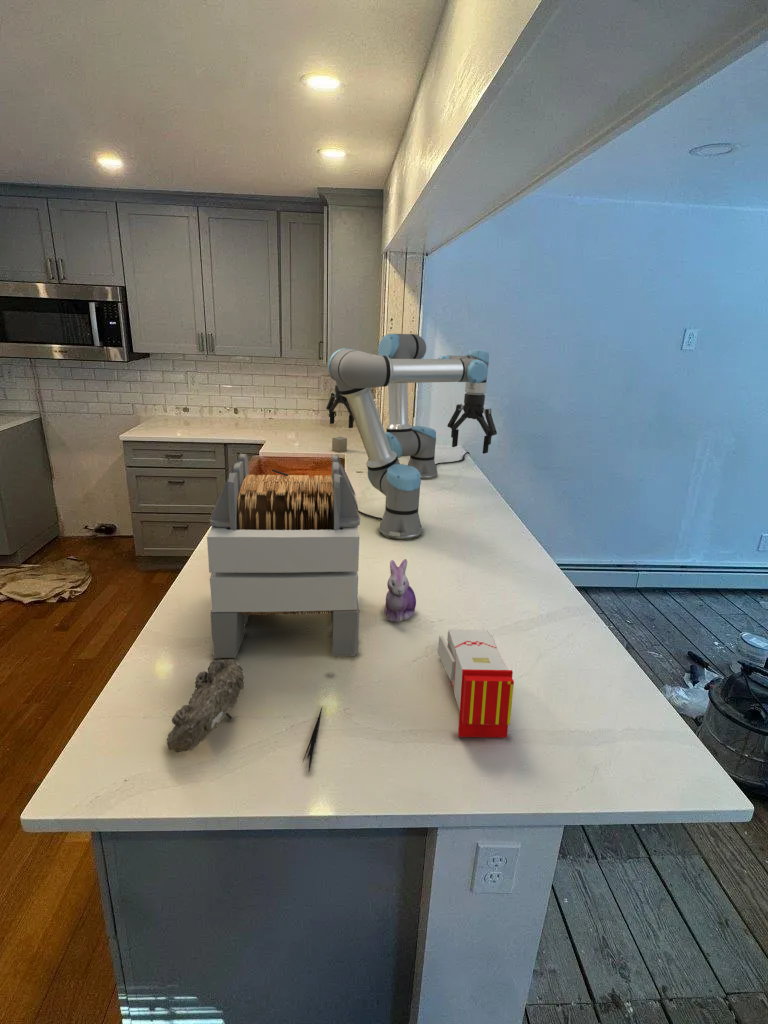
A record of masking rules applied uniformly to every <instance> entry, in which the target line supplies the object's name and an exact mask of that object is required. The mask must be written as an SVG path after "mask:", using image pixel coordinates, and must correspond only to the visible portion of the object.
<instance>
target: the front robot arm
mask: <svg viewBox="0 0 768 1024" xmlns="http://www.w3.org/2000/svg"><path fill="white" fill-rule="evenodd" d="M489 362H490V353H489V351H487V350H484V349H469V350H468V353H467V355H449V354H447V355H440V356H439V357H438V358H421V359H389V357H388V356H380V355H378V354H373V353H368V352H364V351H362V350H357V349H355V348H351V347H343V348H339V349H338V350H335V351H334V352H333V353H332V354H331V356H330V358H329V359H328V363H327V370H328V373H329V375H330V377H331V379H332V380H333V381H334V382H335V381H336V384H337V387H338V389H339V392H340V394H341V395H342V396H344V397H346V398H347V401H348V403H349V406H350V409H351V412H352V414H353V417H354V422H355V425H356V428H357V430H358V433H359V436H360V439H361V441H362V444H363V447H364V449H365V452H366V455H367V458H368V459H367V461H366V463H365V464H366V467H367V478H368V481H369V483H370V484H371V485H372V487H373V488H375V489H376V490H377V491H379V492H380V493H381V494H382V495H384V496H385V504H384V505H385V507H384V508H385V509H384V513H383V515H382V517H380V516H376V515H372V514H369V513H365V512H362V511H360V510H359V509H358V511H359V515H362V516H364V517H367V518H370V519H373V520H377V521H381V522H379V526H378V533H379V534H380V535H381V536H382V537H385V538H387V539H389V540H395V541H410V540H415V539H418V538H420V537H421V536H422V535H423V525H422V524H421V518H420V515H419V507H420V506H419V505H420V496H421V495H420V494H421V493H420V492H421V483H422V479H420V472H419V471H418V470H417V469H416V468H414V467H412V466H408V464H403V463H401V462H400V460H399V459H400V458H398V456H397V454H396V452H393V451H391V449H390V446H389V443H388V440H387V437H386V434H385V433H386V432H385V429H384V426H383V422H382V420H381V417H380V414H379V411H378V408H377V405H376V402H375V400H374V397H373V394H372V391H371V388H381V387H382V388H383V387H384V388H385V387H388V385H389V384H390V383H407V384H413V383H414V384H419V383H420V384H421V383H423V384H424V383H426V384H427V383H465V387H464V391H465V393H464V397H463V403H464V404H462V403H458V404H456V405H455V410H454V412H453V414H452V416H451V417H450V419H449V420H448V421H449V422H448V423H447V425H446V426H447V428H449V429H451V434H450V438H452V440H451V447H452V448H455V447H458V444H459V443H458V442H459V431H460V430H459V429H458V428H459V427H460V426H461V425H462V424H463V423H464V421H466V419H471V420H476V421H477V422H478V423H479V426H480V427H481V429H482V430H483V432H484V434H485V435H484V436H483V444H482V445H483V446H482V454H488V453H489V446H491V444H492V437H493V436H496V435H497V434H498V432H497V428H496V424H495V422H494V419H493V415H492V408H485V406H484V405H485V402H486V401H485V400H486V395H485V394H486V390H487V381H488V380H487V379H488V373H489V365H490V364H489ZM336 384H335V385H336ZM462 411H463V413H462V414H461V412H462ZM460 414H461V416H460ZM483 414H484V415H483ZM459 416H460V417H459ZM484 416H485V417H484ZM271 472H274V473H277V474H278V475H281V476H284V477H285V476H286V477H287V476H288V475H290V474H288V473H285V472H282V471H280V470H276V469H274V468H272V469H271Z"/></svg>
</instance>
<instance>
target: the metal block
mask: <svg viewBox="0 0 768 1024" xmlns="http://www.w3.org/2000/svg"><path fill="white" fill-rule="evenodd" d="M331 451H332V452H336V453H344V452H347V451H348V438H347V437H344V436H336V437H332V438H331Z"/></svg>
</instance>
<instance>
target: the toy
mask: <svg viewBox="0 0 768 1024" xmlns="http://www.w3.org/2000/svg"><path fill="white" fill-rule="evenodd" d="M446 640H447V643H446V641H445V639H444V636H443V635H442V634H439V637H438V646H437V656H438V657H439V659H440V661H441V663H442V666H443V668H444V670H445V672H446V674H447V677H448V679H449V681H450V684H451V687H452V690H453V693H454V697H455V701H456V705H457V708H458V711H459V714H458V715H459V716H458V730H457V731H458V732H457V737H458V738H508V731H509V726H510V725H511V717H512V707H513V697H514V696H513V695H514V684H515V680H514V679H513V673H514V671H513V670H512V669H508V667H507V665H506V662H505V661H504V659H503V658H502V655H501V653H500V651H499V649H498V647H497V643H496V639H495V637H494V635H493V634H491V632H490V631H489V629H467V628H466V629H465V628H463V629H461V628H460V629H459V628H448V630H447V639H446Z"/></svg>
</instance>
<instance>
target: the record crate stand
mask: <svg viewBox="0 0 768 1024" xmlns="http://www.w3.org/2000/svg"><path fill="white" fill-rule="evenodd" d="M358 510H359V507H358V502H357V496H356V491H355V490H354V487H353V485H352V483H351V481H350V479H349V476H348V474H347V472H346V470H345V468H344V465H343V464H342V461H341V459H340V456H339V454H333V453H331V475H318V474H317V475H313V476H310V475H306V474H305V475H304V474H303V475H302V474H301V475H300V474H289V475H288V476H285V475H281V474H277V475H276V474H257V475H255V474H250V473H249V459H248V453H242V452H241V453H239V455H238V457H237V460H236V461H235V463H234V465H233V467H232V470H231V471H230V472H229V474H228V477H227V478H226V480H225V483H224V485H223V487H222V490H221V492H220V494H219V496H218V499H217V501H216V503H215V505H214V507H213V509H212V511H211V514H210V517H209V526H210V529H209V531H208V534H207V536H206V542H207V558H208V572H209V574H210V573H211V574H210V576H209V586H210V602H211V610H210V629H211V630H210V631H211V639H212V648H213V655H212V657H213V659H216V660H217V659H218V660H221V659H236V658H237V655H238V653H239V651H240V647H241V645H242V643H243V640H244V637H245V634H246V633H245V631H246V629H245V625H246V626H247V625H248V621H249V616H252V615H256V616H263V615H265V616H266V615H267V616H269V615H306V614H307V615H313V614H314V615H315V614H316V615H317V614H318V615H323V614H324V615H325V614H330V617H331V618H330V620H331V621H330V622H331V645H332V657H333V656H334V657H335V656H337V657H339V656H340V657H342V656H344V657H345V656H348V657H355V656H357V655H358V654H359V640H360V639H359V636H360V635H359V634H360V605H359V598H358V592H359V573H358V572H359V563H360V562H359V560H360V558H359V557H360V556H359V555H360V532H359V526H360V523H361V517H360V514H359V511H360V510H359V511H358Z"/></svg>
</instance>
